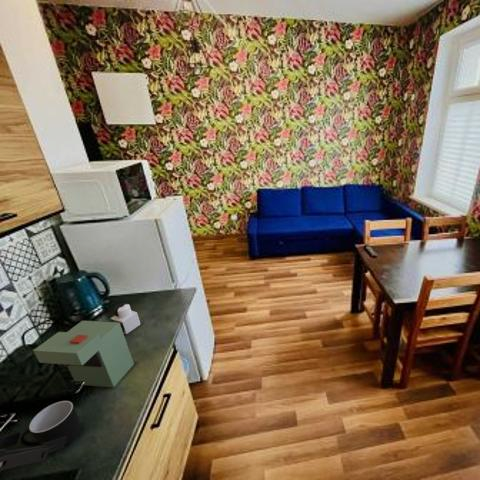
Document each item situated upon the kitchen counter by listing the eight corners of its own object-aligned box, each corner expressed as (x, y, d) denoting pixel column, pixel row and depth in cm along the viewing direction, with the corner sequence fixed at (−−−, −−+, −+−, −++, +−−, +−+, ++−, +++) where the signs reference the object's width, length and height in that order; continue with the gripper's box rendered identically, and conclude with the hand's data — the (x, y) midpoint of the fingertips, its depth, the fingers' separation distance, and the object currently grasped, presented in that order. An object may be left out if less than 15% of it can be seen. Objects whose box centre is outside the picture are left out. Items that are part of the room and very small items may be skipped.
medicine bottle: (114, 331, 119) (106, 309, 114) (129, 321, 125) (122, 299, 120) (126, 334, 117) (118, 312, 112) (141, 324, 123) (134, 302, 118)
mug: (86, 417, 83) (75, 395, 79) (81, 444, 76) (69, 421, 72) (34, 439, 77) (19, 416, 74) (23, 470, 70) (6, 446, 67)
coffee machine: (59, 400, 88) (31, 348, 80) (99, 361, 103) (79, 314, 94) (99, 403, 88) (75, 351, 79) (134, 364, 102) (117, 316, 93)
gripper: (-139, 493, 52) (-10, 453, 71) (-20, 505, 50) (78, 461, 70) (-113, 446, 54) (4, 420, 74) (0, 456, 53) (89, 427, 73)
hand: (40, 440), depth 72 cm, fingers open, 13 cm apart
